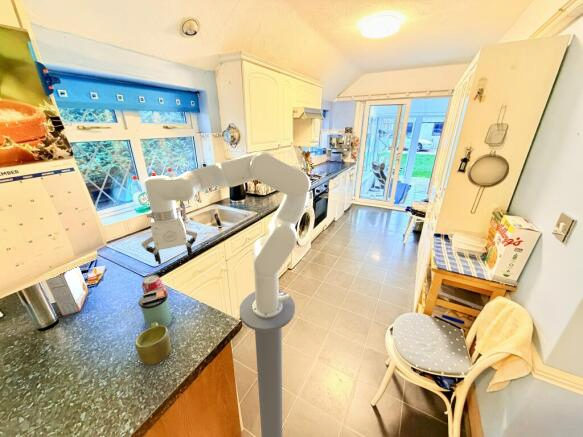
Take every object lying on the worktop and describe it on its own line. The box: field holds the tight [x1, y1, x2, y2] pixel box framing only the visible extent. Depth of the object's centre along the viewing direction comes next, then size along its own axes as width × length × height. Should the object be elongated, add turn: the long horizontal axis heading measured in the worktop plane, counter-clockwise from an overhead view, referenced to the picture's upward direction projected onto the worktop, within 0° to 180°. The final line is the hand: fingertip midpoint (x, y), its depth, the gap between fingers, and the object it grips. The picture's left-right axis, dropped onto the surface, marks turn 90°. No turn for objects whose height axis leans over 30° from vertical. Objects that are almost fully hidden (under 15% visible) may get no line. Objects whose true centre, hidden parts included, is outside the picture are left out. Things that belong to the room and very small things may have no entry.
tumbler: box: [138, 289, 173, 330], centre depth 87 cm, size 9×9×13 cm
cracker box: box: [45, 266, 89, 317], centre depth 95 cm, size 14×6×21 cm, turn 27°
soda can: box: [141, 274, 164, 295], centre depth 98 cm, size 7×7×12 cm
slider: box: [156, 285, 168, 299], centre depth 86 cm, size 3×3×2 cm
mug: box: [134, 322, 172, 366], centre depth 77 cm, size 12×10×10 cm
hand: (174, 259), depth 83 cm, fingers open, 9 cm apart
